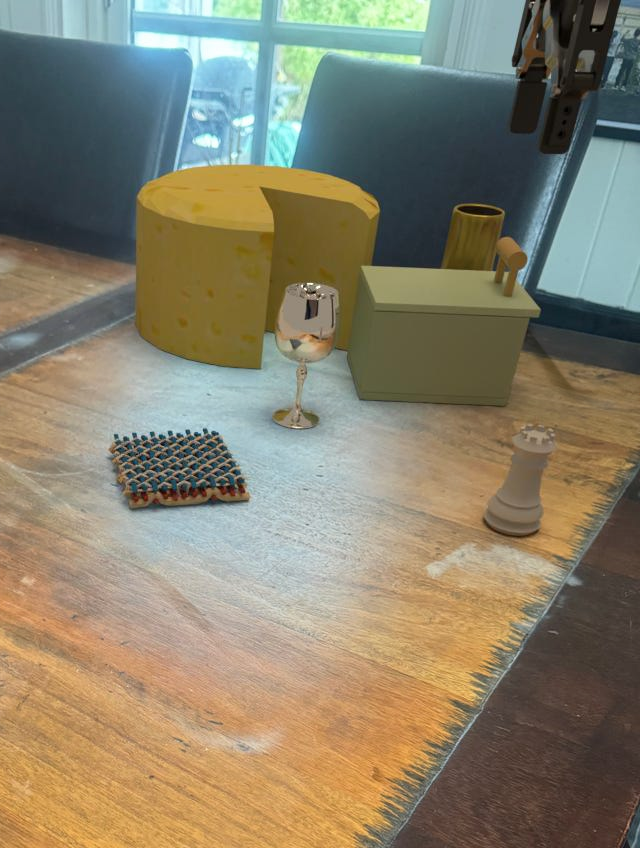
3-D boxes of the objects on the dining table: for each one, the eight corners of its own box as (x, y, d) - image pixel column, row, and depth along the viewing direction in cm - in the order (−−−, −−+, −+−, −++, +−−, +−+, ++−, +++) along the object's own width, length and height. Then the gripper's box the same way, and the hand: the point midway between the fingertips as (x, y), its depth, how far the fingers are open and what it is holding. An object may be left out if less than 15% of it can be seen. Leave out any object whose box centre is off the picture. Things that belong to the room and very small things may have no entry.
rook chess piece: (548, 523, 76) (578, 431, 71) (524, 544, 73) (554, 450, 68) (497, 503, 78) (522, 413, 73) (472, 523, 75) (496, 431, 70)
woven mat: (126, 513, 75) (126, 491, 74) (106, 453, 83) (106, 432, 82) (252, 504, 77) (254, 482, 76) (220, 446, 85) (222, 425, 84)
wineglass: (319, 436, 87) (338, 305, 80) (259, 425, 89) (272, 296, 81) (331, 411, 92) (350, 285, 84) (273, 402, 93) (287, 277, 86)
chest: (480, 362, 103) (500, 279, 98) (506, 406, 94) (530, 318, 88) (346, 356, 103) (359, 273, 98) (359, 399, 94) (374, 311, 89)
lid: (508, 279, 97) (521, 228, 94) (538, 317, 88) (554, 262, 85) (359, 273, 98) (367, 222, 95) (374, 310, 89) (383, 255, 86)
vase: (444, 330, 110) (472, 199, 102) (488, 346, 107) (521, 212, 98) (411, 341, 107) (437, 207, 99) (455, 358, 104) (487, 220, 95)
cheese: (345, 382, 97) (369, 229, 88) (105, 350, 102) (104, 202, 93) (370, 304, 117) (392, 172, 108) (168, 280, 122) (173, 153, 113)
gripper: (694, -118, 60) (613, 163, 70) (615, -114, 71) (555, 127, 81) (576, -121, 60) (512, 160, 70) (515, -116, 71) (468, 125, 81)
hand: (535, 142), depth 75 cm, fingers open, 8 cm apart
